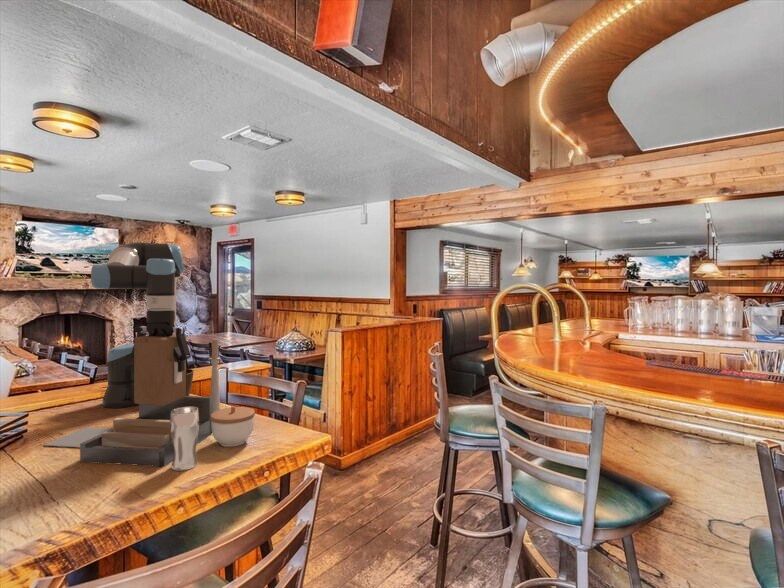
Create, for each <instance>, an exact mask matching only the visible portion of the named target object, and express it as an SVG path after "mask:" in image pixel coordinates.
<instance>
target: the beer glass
mask: <svg viewBox="0 0 784 588" xmlns="http://www.w3.org/2000/svg"><path fill="white" fill-rule="evenodd" d="M198 432H199V414H198V408H197V407H192V406H188V407H180V408H176V409H173V410H172V411H171V415H170V437H171V443H172V448H173V461H172V462H171V470H173V471H174V472H175V471H176V472H182V471H183V472H184V471H188V470H190V469H193V468H196V466H197V465H198V460H197V455H196V452H197V449H196V448H197V444H196V443H197V438H198Z"/></svg>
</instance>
